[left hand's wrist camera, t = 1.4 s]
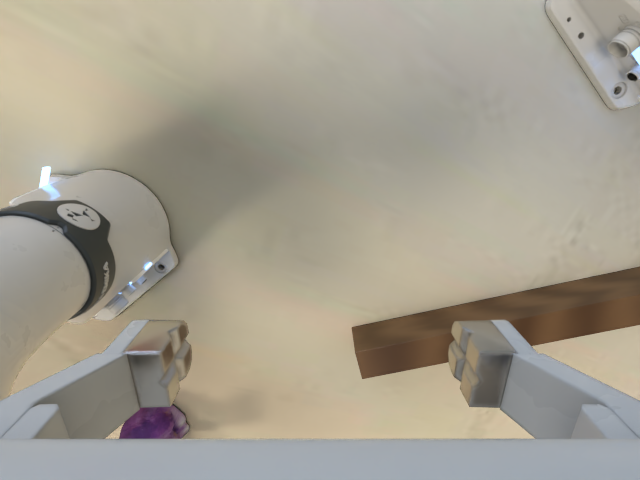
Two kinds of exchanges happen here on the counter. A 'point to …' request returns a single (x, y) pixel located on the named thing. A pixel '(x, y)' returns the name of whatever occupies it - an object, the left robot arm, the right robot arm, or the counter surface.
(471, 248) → the counter surface
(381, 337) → the beam
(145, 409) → the figurine
